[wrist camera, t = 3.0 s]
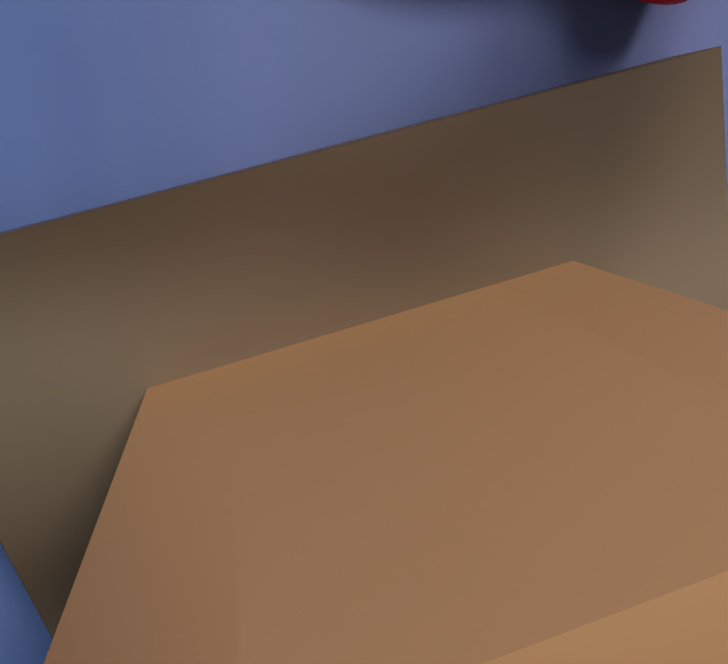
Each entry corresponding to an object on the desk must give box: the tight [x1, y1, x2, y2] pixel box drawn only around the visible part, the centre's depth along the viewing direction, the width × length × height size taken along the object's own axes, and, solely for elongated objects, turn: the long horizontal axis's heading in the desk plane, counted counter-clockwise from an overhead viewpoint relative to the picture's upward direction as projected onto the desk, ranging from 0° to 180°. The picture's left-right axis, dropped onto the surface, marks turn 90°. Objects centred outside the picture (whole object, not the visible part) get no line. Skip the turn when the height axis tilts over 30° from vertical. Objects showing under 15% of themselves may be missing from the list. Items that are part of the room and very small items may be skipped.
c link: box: [44, 261, 728, 664], centre depth 7 cm, size 7×7×6 cm
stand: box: [0, 46, 728, 639], centre depth 8 cm, size 12×12×6 cm
